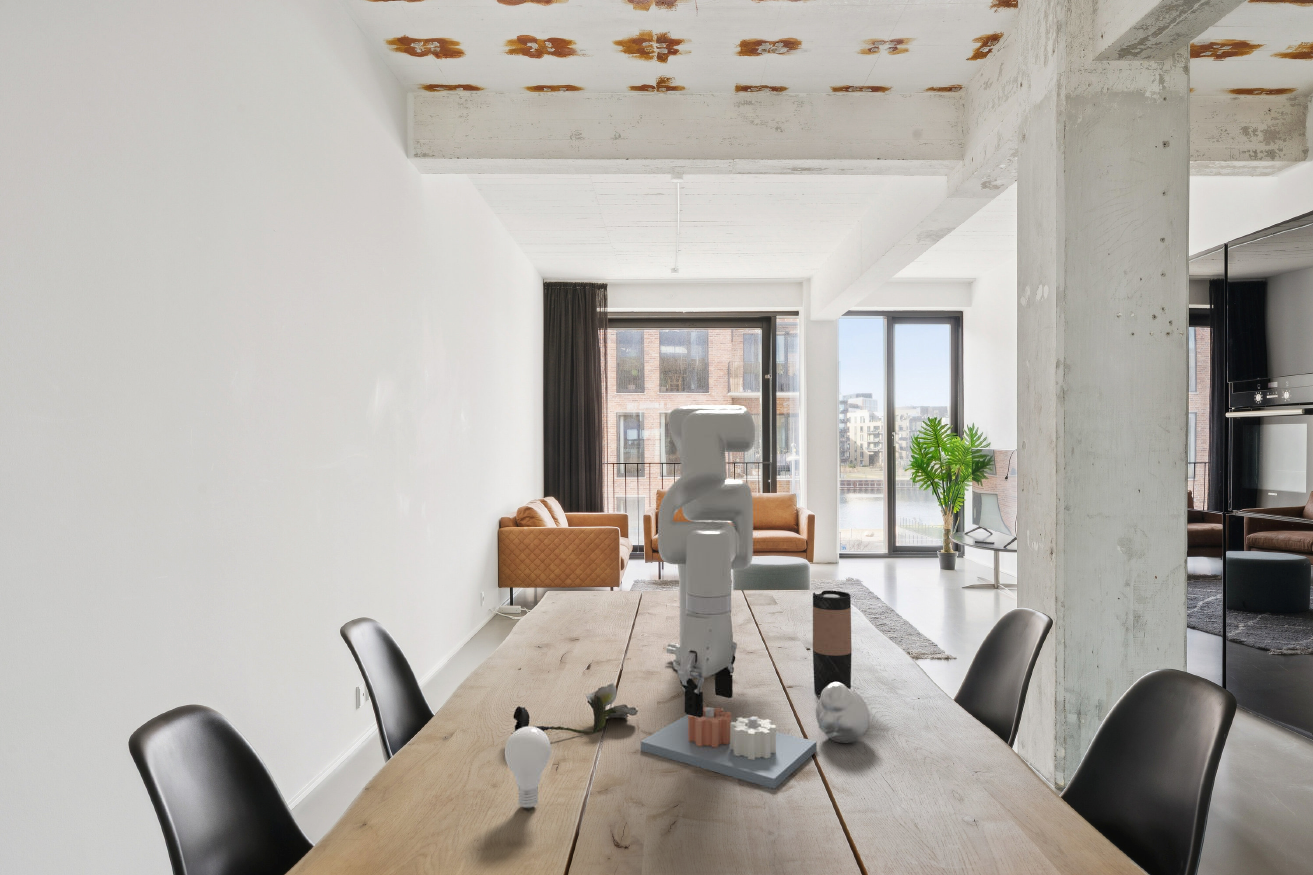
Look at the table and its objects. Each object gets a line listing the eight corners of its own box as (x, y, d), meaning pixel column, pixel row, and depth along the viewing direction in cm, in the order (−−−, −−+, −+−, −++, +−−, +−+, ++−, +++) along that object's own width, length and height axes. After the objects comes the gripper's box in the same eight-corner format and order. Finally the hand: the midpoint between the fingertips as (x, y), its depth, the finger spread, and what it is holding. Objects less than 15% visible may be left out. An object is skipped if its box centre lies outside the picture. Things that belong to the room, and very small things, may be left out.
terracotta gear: (680, 740, 119) (680, 716, 119) (702, 726, 125) (702, 703, 125) (717, 750, 115) (717, 725, 115) (738, 736, 121) (738, 712, 121)
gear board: (640, 750, 119) (640, 710, 119) (692, 719, 132) (691, 684, 133) (774, 788, 106) (774, 744, 106) (816, 750, 119) (816, 710, 119)
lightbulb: (507, 797, 104) (507, 720, 104) (552, 795, 104) (552, 718, 104) (502, 820, 97) (501, 737, 97) (549, 817, 98) (549, 735, 98)
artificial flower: (504, 745, 125) (507, 684, 128) (625, 738, 134) (625, 682, 137) (518, 750, 117) (520, 685, 121) (644, 742, 127) (644, 682, 130)
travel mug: (853, 700, 142) (852, 598, 142) (813, 698, 143) (812, 597, 144) (850, 687, 149) (849, 590, 150) (812, 685, 151) (812, 589, 151)
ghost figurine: (802, 735, 125) (802, 677, 125) (848, 727, 129) (847, 670, 129) (834, 756, 117) (833, 693, 117) (881, 746, 120) (881, 686, 120)
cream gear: (728, 757, 113) (728, 731, 113) (733, 739, 120) (733, 714, 120) (774, 761, 111) (774, 735, 111) (776, 742, 118) (776, 718, 118)
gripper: (715, 590, 130) (715, 685, 130) (660, 611, 115) (661, 717, 116) (752, 595, 125) (753, 694, 126) (701, 618, 111) (701, 728, 111)
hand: (709, 705), depth 121 cm, fingers open, 9 cm apart
